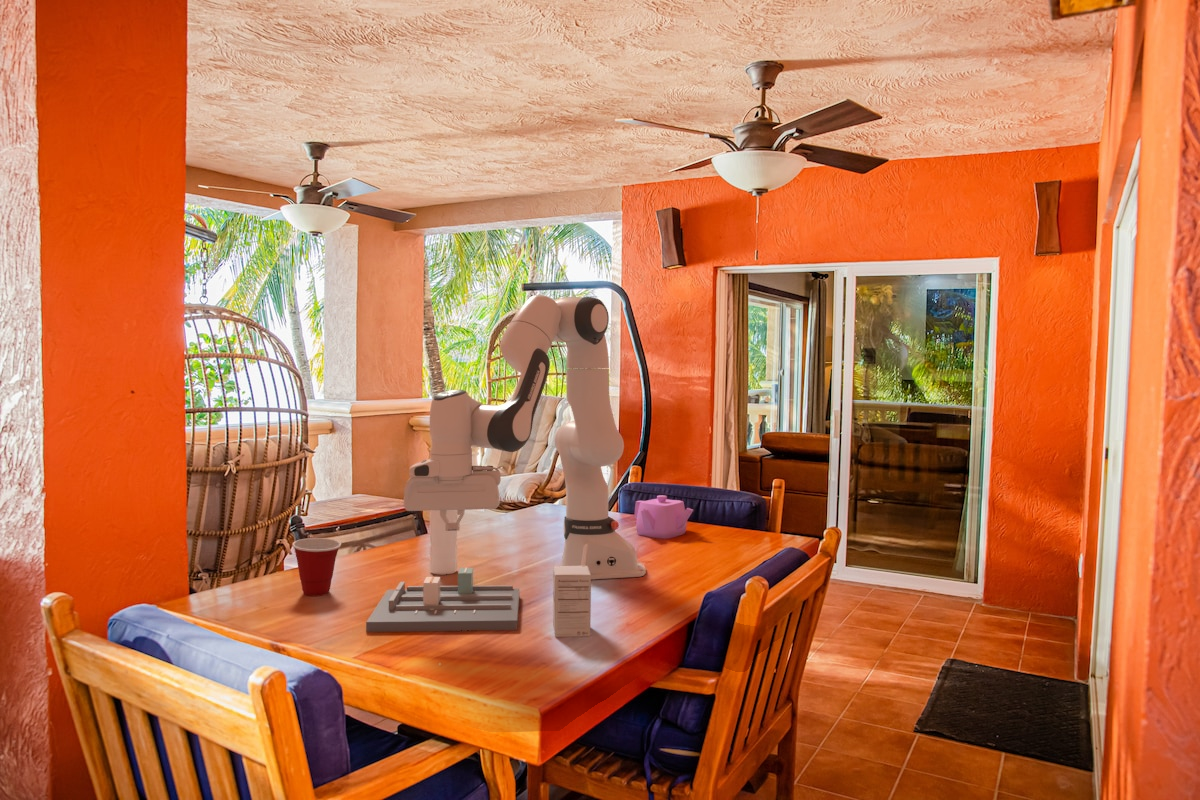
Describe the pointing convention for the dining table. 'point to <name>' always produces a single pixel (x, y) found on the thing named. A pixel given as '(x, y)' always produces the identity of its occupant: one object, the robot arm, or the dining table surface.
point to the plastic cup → (316, 564)
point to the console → (446, 610)
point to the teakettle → (661, 517)
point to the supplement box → (571, 601)
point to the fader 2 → (465, 581)
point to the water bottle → (442, 544)
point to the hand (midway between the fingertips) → (452, 530)
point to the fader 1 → (431, 591)
